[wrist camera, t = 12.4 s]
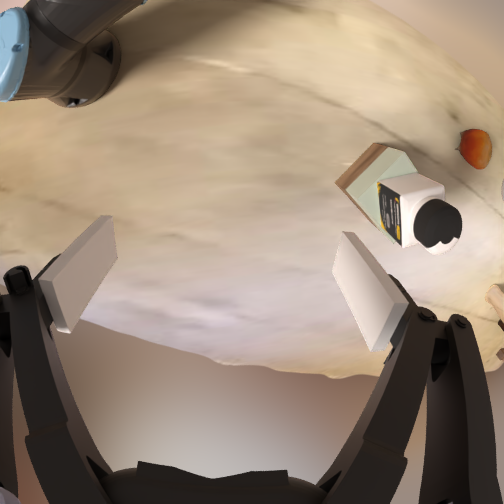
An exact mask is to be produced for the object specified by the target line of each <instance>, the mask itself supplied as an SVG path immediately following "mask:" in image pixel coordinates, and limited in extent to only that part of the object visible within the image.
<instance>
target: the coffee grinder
mask: <svg viewBox="0 0 504 504" xmlns="http://www.w3.org/2000/svg"><path fill="white" fill-rule="evenodd" d="M498 325H499V326H500V327H501V328H502V330H503V331H504V323H503V322H502V320H501V319H500V320H499V322H498Z"/></svg>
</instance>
